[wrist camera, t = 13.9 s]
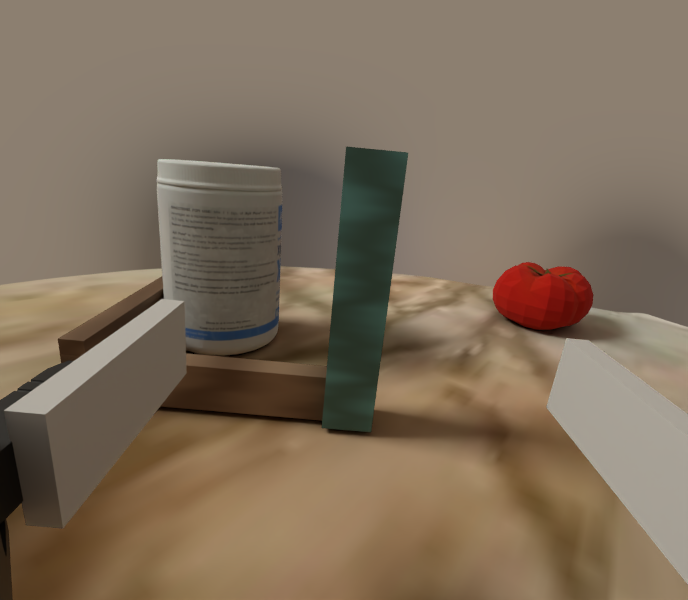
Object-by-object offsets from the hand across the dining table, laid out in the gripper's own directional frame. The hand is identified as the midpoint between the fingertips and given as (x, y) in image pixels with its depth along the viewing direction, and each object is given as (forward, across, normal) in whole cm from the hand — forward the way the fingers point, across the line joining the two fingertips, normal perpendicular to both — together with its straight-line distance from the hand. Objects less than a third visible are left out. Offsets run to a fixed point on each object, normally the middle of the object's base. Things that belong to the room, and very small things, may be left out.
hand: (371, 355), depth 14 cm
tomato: (+33, +22, -10) cm, 41 cm away
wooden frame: (+18, -8, -9) cm, 21 cm away
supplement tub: (+21, -11, -10) cm, 25 cm away
